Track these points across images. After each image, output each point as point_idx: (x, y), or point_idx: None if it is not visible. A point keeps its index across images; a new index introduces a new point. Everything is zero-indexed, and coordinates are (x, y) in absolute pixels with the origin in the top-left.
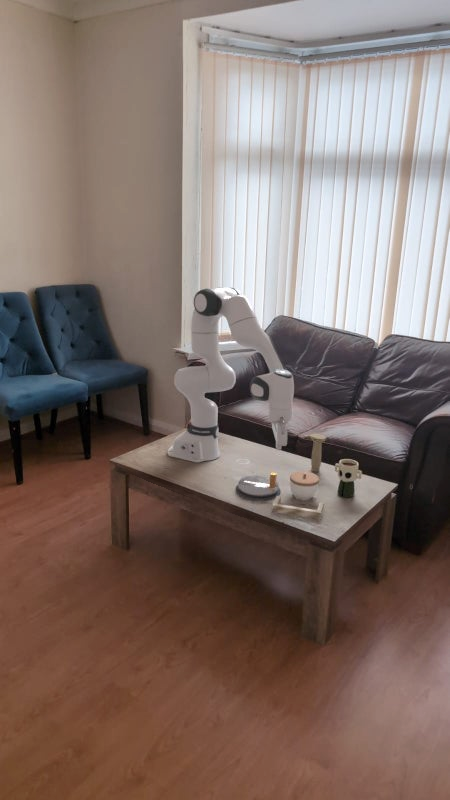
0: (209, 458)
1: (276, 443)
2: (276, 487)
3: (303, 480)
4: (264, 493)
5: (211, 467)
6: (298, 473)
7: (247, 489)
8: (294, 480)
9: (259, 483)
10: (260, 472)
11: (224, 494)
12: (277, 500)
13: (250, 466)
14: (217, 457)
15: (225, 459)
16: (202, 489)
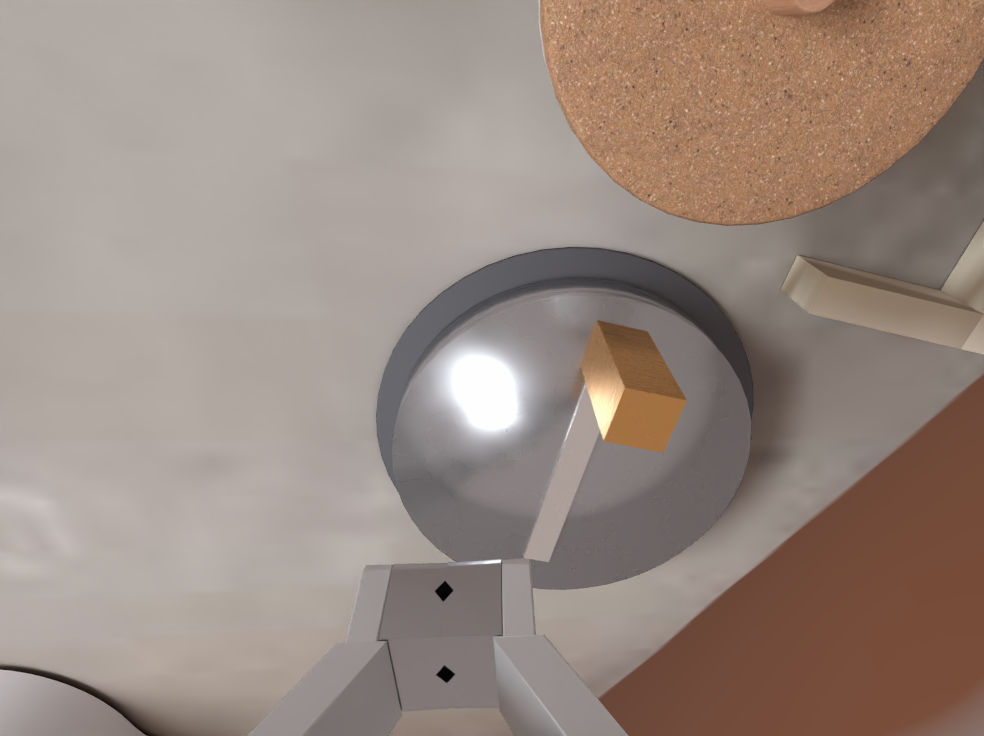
0: (107, 724)
1: (404, 707)
2: (644, 315)
3: (917, 24)
4: (747, 413)
5: (223, 691)
6: (647, 91)
7: (679, 533)
8: (877, 172)
9: (570, 457)
10: (191, 407)
11: (633, 612)
12: (912, 311)
13: (94, 481)
14: (46, 680)
15: (41, 633)
16: None
